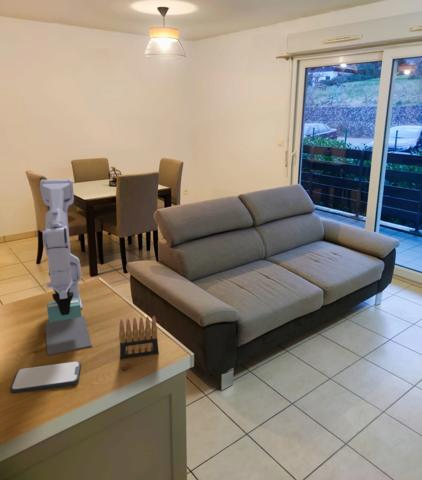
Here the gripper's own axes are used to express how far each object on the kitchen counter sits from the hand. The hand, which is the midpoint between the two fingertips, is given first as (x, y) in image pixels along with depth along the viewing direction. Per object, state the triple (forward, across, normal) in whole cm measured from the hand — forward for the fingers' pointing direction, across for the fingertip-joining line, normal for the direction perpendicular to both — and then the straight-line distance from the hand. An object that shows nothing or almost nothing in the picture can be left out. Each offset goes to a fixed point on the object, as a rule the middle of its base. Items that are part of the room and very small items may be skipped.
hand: (64, 309), depth 116 cm
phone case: (+9, +19, -6) cm, 22 cm away
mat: (+9, 0, 0) cm, 9 cm away
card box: (+2, 0, 0) cm, 2 cm away
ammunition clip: (+9, +18, +18) cm, 27 cm away
